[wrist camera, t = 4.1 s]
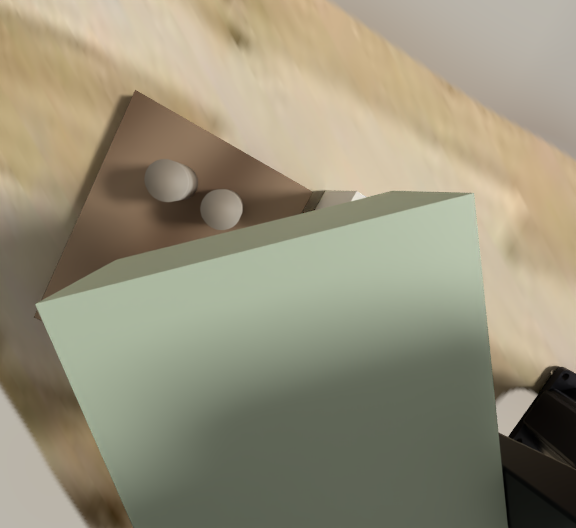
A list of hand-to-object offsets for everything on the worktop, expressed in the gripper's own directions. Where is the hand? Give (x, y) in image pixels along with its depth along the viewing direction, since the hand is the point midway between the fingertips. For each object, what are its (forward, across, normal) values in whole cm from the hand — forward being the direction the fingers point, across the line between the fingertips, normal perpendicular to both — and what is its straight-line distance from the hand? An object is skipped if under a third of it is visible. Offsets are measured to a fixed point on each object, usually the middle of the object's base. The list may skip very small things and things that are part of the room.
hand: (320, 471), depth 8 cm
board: (+1, 0, 0) cm, 1 cm away
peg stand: (+13, +5, -4) cm, 14 cm away
